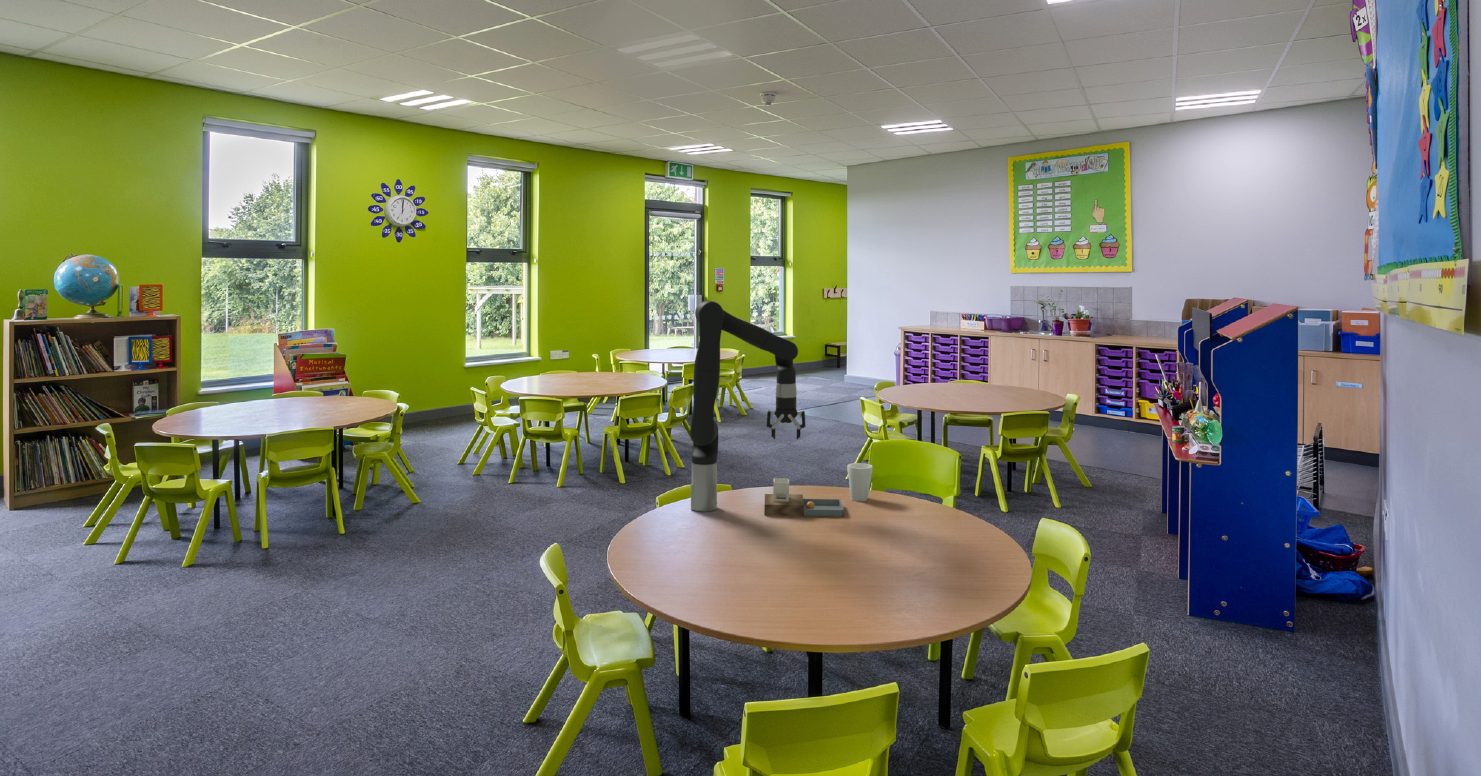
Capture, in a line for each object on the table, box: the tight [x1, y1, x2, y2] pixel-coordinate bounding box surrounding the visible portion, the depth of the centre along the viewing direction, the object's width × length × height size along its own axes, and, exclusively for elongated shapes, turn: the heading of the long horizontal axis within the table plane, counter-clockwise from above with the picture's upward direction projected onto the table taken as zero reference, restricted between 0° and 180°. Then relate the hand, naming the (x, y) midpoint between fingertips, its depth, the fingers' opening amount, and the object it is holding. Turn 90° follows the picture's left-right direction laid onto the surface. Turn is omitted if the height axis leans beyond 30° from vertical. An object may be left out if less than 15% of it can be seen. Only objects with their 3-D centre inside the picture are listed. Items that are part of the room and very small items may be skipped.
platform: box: [763, 493, 805, 517], centre depth 282 cm, size 14×14×4 cm
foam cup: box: [846, 462, 874, 502], centre depth 296 cm, size 10×9×13 cm
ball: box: [806, 501, 815, 509], centre depth 281 cm, size 3×3×3 cm
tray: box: [803, 498, 845, 518], centre depth 281 cm, size 14×14×2 cm
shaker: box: [772, 478, 790, 502], centre depth 281 cm, size 6×6×7 cm
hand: (786, 438), depth 286 cm, fingers open, 8 cm apart
